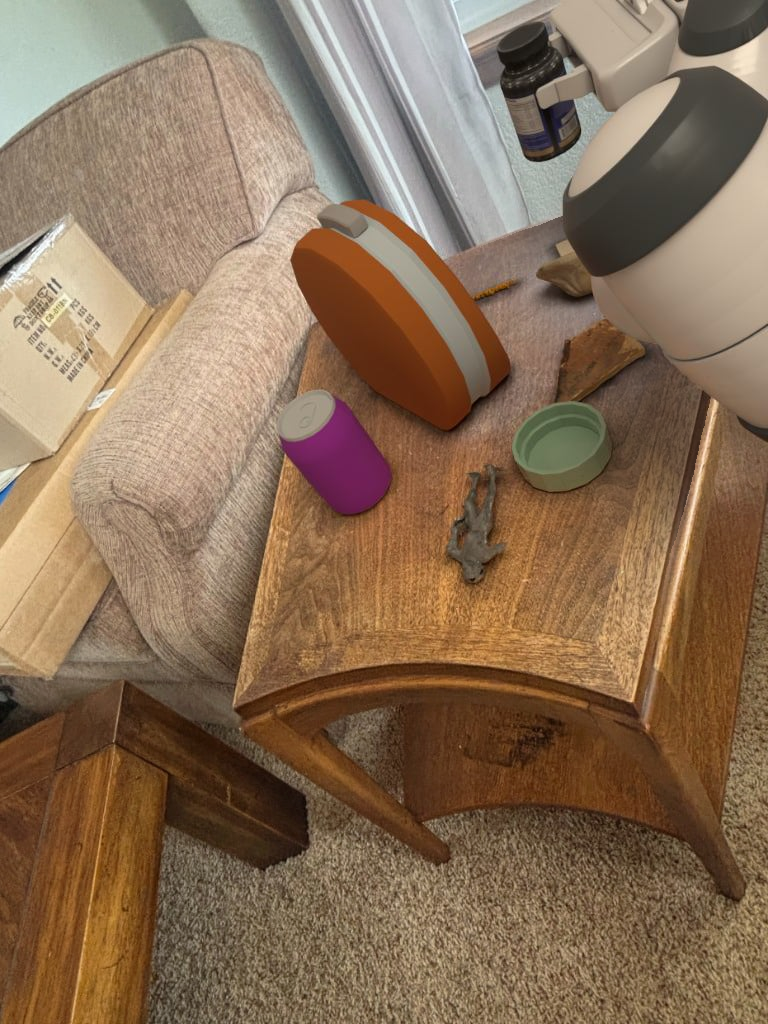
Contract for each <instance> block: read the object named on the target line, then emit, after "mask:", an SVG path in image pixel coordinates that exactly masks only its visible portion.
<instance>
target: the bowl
mask: <svg viewBox="0 0 768 1024" xmlns="http://www.w3.org/2000/svg"><path fill="white" fill-rule="evenodd" d="M612 450H613V441H612V438H611V435H610V433H609V430H608V426H607V423H606V422H605V419H604V417H603V415H602V412H600V411H599V410H598V409H596V408H595V407H593V406H592V405H591V404H590V403H585V402H580V401H578V402H576V401H568V402H559V403H554V402H553V403H552V404H549V405H546V406H544V407H542V408H539V409H537V410H536V411H534V412H533V413H532V414H530V415H529V416H528V417H527V418H525V419H524V420H523V421H522V423H521V424H520V425H519V427H518V428H517V429H516V431H515V432H514V435H513V439H512V444H511V452H512V456H513V458H514V462H515V464H516V465H517V467H518V469H519V471H520V473H521V475H522V477H523V478H524V480H526V481H527V482H528V483H529V484H530V485H531V486H532V487H533V488H536V489H538V490H542V491H545V492H548V493H552V492H567V491H570V490H573V489H576V488H579V487H582V486H585V485H587V484H589V482H591V481H592V480H594V479H595V478H596V477H598V476H599V475H600V474H601V473H602V472H603V470H604V469H605V467H606V466H607V464H608V463H609V461H610V460H611V457H612Z"/></svg>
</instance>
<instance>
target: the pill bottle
mask: <svg viewBox="0 0 768 1024" xmlns="http://www.w3.org/2000/svg"><path fill="white" fill-rule="evenodd" d="M549 36H550V34H549V32H548V29H547V27H546V24H545V22H543V21H531V22H527V23H525V24H523V25H520V26H518V27H516V28H514V29H513V30H511V31H510V32H508V33H507V34H505V36H503V37H502V38H501V39H500V40H499V41H498V43H497V45H496V52H497V56H498V60H499V62H500V63H501V64H502V65H504V68H503V70H502V72H501V75H500V79H499V86H500V89H501V92H502V95H503V98H504V101H505V105H506V106H507V110H508V112H509V116H510V118H511V122H512V124H513V127H514V131H515V133H516V137H517V140H518V142H519V143H518V144H519V147H520V149H521V152H522V155H523V156H524V158H525V160H527V161H529V162H531V163H543V162H548V161H551V160H553V159H556V158H557V157H560V156H561V155H564V154H565V153H566V152H568V151H570V150H571V149H573V148H574V146H575V145H576V144H577V143H578V141H579V140H580V139H581V137H582V126H581V121H580V118H579V115H578V111H577V107H576V103H575V99H572V100H567V101H561V102H560V101H559V102H557V103H556V104H554V105H552V106H550V107H548V108H546V109H542V108H541V107H540V106H539V104H538V102H537V99H536V96H535V93H534V88H535V86H536V85H537V84H539V83H542V82H543V81H545V80H546V79H548V78H550V77H551V78H552V80H554V79H557V78H559V77H562V76H565V75H567V74H568V73H567V69H566V66H565V61H564V59H563V58H562V55H561V53H560V51H559V50H558V49H557V48H555V47H552V46H548V41H549Z"/></svg>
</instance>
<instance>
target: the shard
mask: <svg viewBox="0 0 768 1024" xmlns="http://www.w3.org/2000/svg"><path fill="white" fill-rule="evenodd" d="M645 354H646V348H645V346H643V345H642V343H641V342H640V341H639V340H637V339H635V338H632V337H630V336H628V335H626V334H624V333H623V332H621V331H620V330H618V329H617V328H616V327H615V326H613V325H612V324H611V323H610V322H609V321H608V320H607V318H600V319H598V320H597V321H595V322H594V323H593V324H591V325H590V326H589V327H587V328H586V329H584V330H583V331H581V332H579V333H577V334H576V335H574V336H573V337H571V338H567V339H564V344H563V349H562V353H561V355H562V357H561V359H560V364H559V368H558V372H557V379H556V386H555V387H556V388H555V398H554V401H553V404H554V403H559V402H568V401H576V402H580V401H581V400H583V399H584V398H586V397H587V396H589V395H590V394H591V393H592V392H594V391H595V390H596V389H598V387H600V386H601V385H602V384H603V383H605V382H606V381H607V380H609V379H610V378H613V376H615V375H617V373H619V371H621V370H623V368H626V367H627V366H628V365H629V364H631V363H633V362H635V360H637V359H639V358H641V357H643V356H645Z"/></svg>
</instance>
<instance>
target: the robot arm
mask: <svg viewBox="0 0 768 1024" xmlns="http://www.w3.org/2000/svg"><path fill="white" fill-rule="evenodd" d="M548 18H549V22H550V27H551V30H552V34H549V41H548V46H552V47H555V48H557V49H558V50H559V51H560V53H561V55H562V58H563V60H564V59H566V60H568V62H569V63H570V64H571V66H572V67H573V69H571V72H570V73H567V75H565V76H562V77H559V78H557V79H554V80H552V78H551V77H550V78H548V79H546V80H545V81H543V82H542V83H539V84H537V85H536V86H535V88H534V93H535V96H536V99H537V102H538V104H539V106H540V107H541V108H542V109H546V108H548V107H550V106H552V105H554V104H556V103H557V102H559V101H560V102H561V101H567V100H572V99H574V100H577V99H582V98H584V97H585V96H588V95H589V94H591V93H592V95H594V97H595V98H596V100H597V102H599V103H600V106H602V108H603V109H604V111H605V112H607V113H612V115H611V116H609V118H607V120H606V121H604V123H603V124H602V125H601V126H600V127H599V129H598V130H597V131H596V133H595V134H594V135H593V136H592V138H591V139H590V141H589V142H588V144H587V145H586V147H585V149H584V151H583V153H582V154H581V156H580V158H579V160H578V163H577V165H576V168H575V169H574V173H573V175H572V176H571V178H570V179H569V181H568V183H567V185H566V187H565V189H564V191H563V194H562V229H563V230H562V231H563V233H564V235H565V238H566V239H568V241H569V243H570V245H571V246H572V248H573V250H574V252H575V253H576V255H577V256H578V258H579V259H580V261H581V263H582V264H583V265H584V267H585V268H586V269H587V271H588V272H589V274H591V285H592V291H593V293H592V295H593V299H594V300H595V303H596V306H597V307H598V309H599V310H600V312H601V313H602V315H603V316H604V318H605V319H607V320H608V321H609V322H610V323H611V324H612V325H613V326H615V327H616V328H617V329H618V330H620V331H621V332H623V333H624V334H626V335H628V336H630V337H632V338H634V339H636V340H637V341H639V342H640V341H641V342H644V343H647V344H654V345H658V347H660V348H661V350H662V354H663V356H664V357H665V359H667V361H669V363H671V364H672V365H673V366H674V367H675V368H676V369H677V370H679V371H680V372H681V374H683V375H684V376H685V377H686V378H688V380H690V381H691V382H692V383H694V384H695V385H696V386H697V387H698V388H699V389H701V390H702V391H703V392H705V393H706V395H708V396H710V398H712V399H714V400H715V402H717V403H719V404H720V405H722V406H723V407H724V408H725V409H727V410H728V411H729V412H731V413H733V414H734V415H735V416H736V419H737V421H738V423H739V424H740V425H741V426H742V428H744V429H745V430H746V431H748V432H750V433H751V434H752V435H754V436H755V437H757V438H759V439H761V440H762V441H764V442H765V443H768V0H564V1H562V2H561V3H559V4H557V5H556V6H555V7H554V8H553V9H552V10H551V11H550V13H549V15H548Z"/></svg>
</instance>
